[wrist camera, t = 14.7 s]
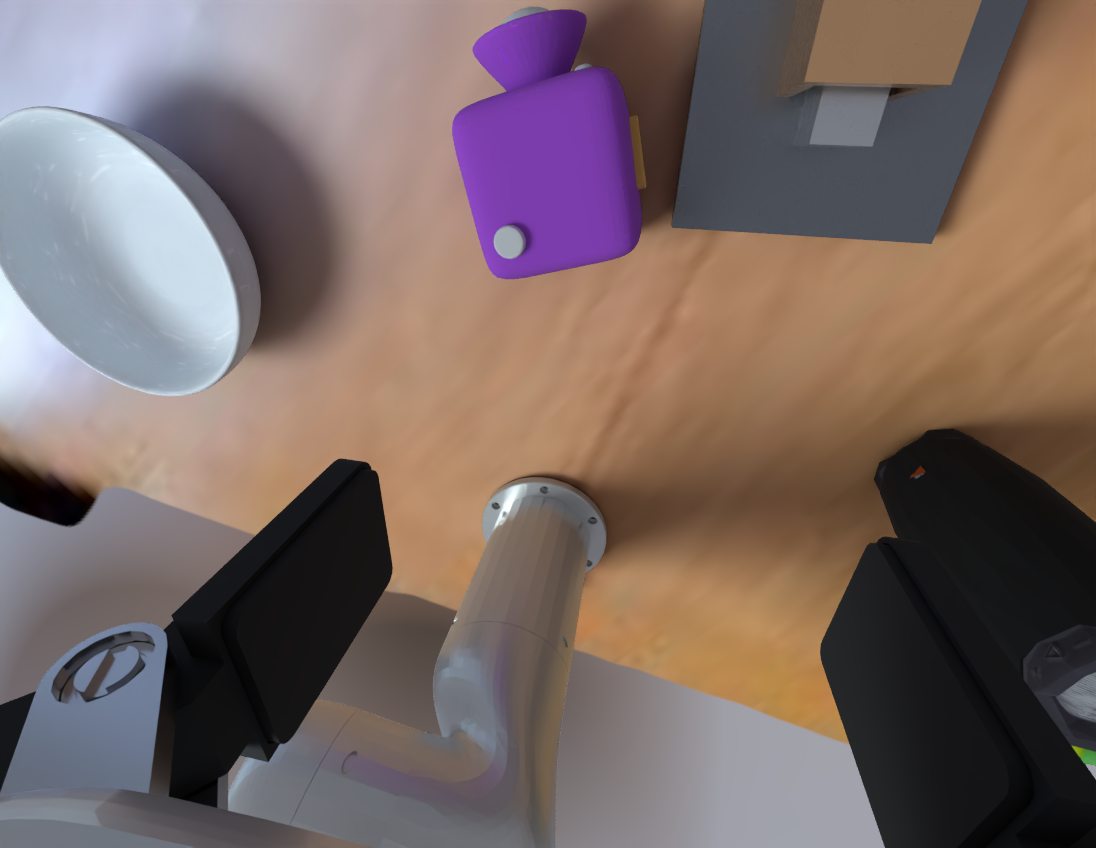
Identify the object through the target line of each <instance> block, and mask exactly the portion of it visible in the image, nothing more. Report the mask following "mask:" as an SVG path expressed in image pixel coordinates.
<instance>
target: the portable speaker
mask: <svg viewBox="0 0 1096 848" xmlns="http://www.w3.org/2000/svg"><path fill="white" fill-rule="evenodd" d="M874 480H875V482H876V485H877V487H878V489H879V491H880V494H881V497H882V499H883V502H884V505H885V507H886V510H887V513H888V515H889V518H890V521H891V523H892V526H893V528H894V531H895V534H896V535H897V537H898V538H899V539H906V540H913V541H920V542H922V543H924V544H925V545H926V546H927V547H928V548H929V549H930V550H931V552H932V553H933V554H934V556H935V557H936V559H937V560H938V561H939V563H940V564H941V566H942V567H943V568H944V570H945V571H946V572H947V574H948V575H949V577H950V578H951V579H952V581H953V582H954V584H955V585H956V586H957V588H958V589H959V591H960V592H961V593H962V595H963V596H964V597H965V599H966V600H967V602H968V603H969V604H970V606H971V607H972V609H973V610H974V611H975V613H976V614H977V616H978V617H979V618H980V620H981V621H982V622H983V624H984V625H985V627H986V628H987V629H988V631H989V632H990V634H991V635H992V636H993V638H994V639H995V640H996V642H997V643H998V645H999V646H1000V647H1001V649H1002V650H1003V652H1004V653H1005V654H1006V656H1007V657H1008V659H1009V660H1010V661H1011V663H1012V664H1013V665H1014V667H1015V668H1016V670H1017V671H1018V672H1019V674H1020V675H1021V677H1022V678H1023V679H1024V681H1025V682H1026V684H1027V685H1028V686H1029V688H1030V689H1031V690H1032V692H1033V693H1034V695H1035V696H1036V697H1037V699H1038V700H1039V702H1040V703H1041V704H1042V706H1043V707H1044V708H1045V710H1046V711H1047V713H1048V714H1049V715H1050V717H1051V718H1052V720H1053V721H1054V722H1055V724H1056V725H1057V727H1058V728H1059V729H1060V731H1061V732H1062V733H1063V735H1064V736H1065V738H1066V739H1067V740H1068V742H1069V743H1070V745H1072V746H1076V747H1079V748H1083V749H1087V750H1091V751H1095V752H1096V522H1094V521H1093V520H1092V519H1091V518H1089V517H1088V516H1087V515H1086V514H1085V513H1083V512H1082V511H1081V510H1080V509H1078V508H1077V507H1076V506H1075V505H1073V504H1072V503H1071V502H1070V501H1068V500H1067V499H1066V498H1065V497H1064V496H1062V495H1061V494H1060V493H1059V492H1057V491H1056V490H1055V489H1054V488H1052V487H1051V486H1050V485H1049V484H1047V483H1046V482H1045V481H1044V480H1043V479H1041V478H1039V477H1038V476H1036V475H1034V474H1033V473H1031V472H1029V471H1028V470H1026V469H1025V468H1023V467H1021V466H1020V465H1018V464H1016V463H1015V462H1013V461H1011V460H1010V459H1008V458H1006V457H1005V456H1003V455H1001V454H1000V453H998V452H996V451H995V450H993V449H991V448H990V447H988V446H985V445H983V444H981V443H980V442H978V441H977V440H975V439H974V438H972V437H970V436H968V435H966V434H963V433H961V432H958V431H956V430H954V429H948V430H934V431H927V432H926V433H925V434H924V436H923V437H922V438H921V439H919V440H917V441H915V442H914V443H912V444H910V445H908V446H906V447H904V448H903V449H901V450H900V451H899V452H897V453H896V454H895V455H894V456H892V457H891V458H890V459H889V460H887V461H884V462H880V463H879V466H878V469H877V472H876V475H875V478H874Z"/></svg>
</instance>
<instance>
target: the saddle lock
mask: <svg viewBox="0 0 1096 848" xmlns="http://www.w3.org/2000/svg"><path fill="white" fill-rule="evenodd" d="M981 1H982V0H798V1H797V5H796V10H795V14H794V19H793V23H792V28H791V32H790V37H789V41H788V46H787V50H786V55H785V59H784V64H783V69H782V73H781V78H780V82H779V87H778V91H777V96H776V97H792V96H794V95H796V94H798V93H800V92H802V91H804V90H807V89H809V88H811V87H813V86H852V87H891V89H890V92H889V95H888V99H894V100H895V99H898V98H902V97H906V96H910V95H914V94H918V93H922V92H926V91H929V90H933V89H937V88H941V87H945V86H949V85H951V84H952V81H953V78H954V75H955V73H956V70H957V67H958V64H959V62H960V59H961V56H962V53H963V51H964V48H965V45H966V42H967V39H968V37H969V34H970V31H971V28H972V26H973V23H974V20H975V17H976V15H977V12H978V9H979V6H980V4H981Z"/></svg>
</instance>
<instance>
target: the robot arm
mask: <svg viewBox="0 0 1096 848" xmlns="http://www.w3.org/2000/svg"><path fill="white" fill-rule="evenodd" d="M482 531H483V535H484V538H485V540H486V542H487V545H486V547H485V549H484V552H483V554H482V556H481V559H480V561H479V563H478V566H477V568H476V570H475V572H474V575H473V577H472V579H471V582H470V584H469V586H468V589H467V591H466V593H465V596H464V598H463V600H462V603H461V605H460V607H459V610H458V612H457V614H456V616H455V619H454V621H453V623H452V626H451V628H450V630H449V633H448V636H447V638H446V640H445V642H444V644H443V647H442V649H441V651H440V654H439V656H438V659H437V662H436V667H435V672H434V679H433V695H434V704H435V709H436V714H437V718H438V722H439V726H440V730H441V734H442V736H439V735H435V734H432V733H428V732H427V733H424V732H422V731H419V730H416V729H413V728H411V727H408V726H405V725H402V724H399V723H397V722H394V721H391V720H388V719H386V718H383V717H380V716H377V715H374V714H372V713H369V712H366V711H363V710H360V709H357V708H354V707H351V706H348V705H344V704H341V703H337V702H333V701H328V700H316V699H317V698H318V696H319V695H320V693H321V691H322V690H323V688H324V686H325V685H326V683H327V682H328V680H329V678H330V677H331V675H332V674H333V672H334V670H335V669H336V667H337V666H338V664H339V662H340V661H341V659H342V657H343V656H344V654H345V653H346V651H347V650H348V648H349V646H350V645H351V643H352V642H353V640H354V638H355V637H356V635H357V633H358V632H359V630H360V629H361V627H362V625H363V624H364V622H365V621H366V619H367V617H368V616H369V614H370V613H371V611H372V609H373V608H374V606H375V605H376V603H377V601H378V600H379V598H380V597H381V595H382V593H383V592H384V590H385V589H386V587H387V585H388V583H389V581H390V579H391V575H392V560H391V554H390V547H389V541H388V535H387V528H386V522H385V516H384V509H383V503H382V497H381V490H380V484H379V478H378V474H377V472H376V471H374V470H371V466H370V465H369V464H368V463H366V462H361V461H354V460H348V459H337V460H336V461H334V462H333V463H332V464H331V465H330V466H329V467H328V468H327V469H326V470H325V471H324V472H323V473H322V474H321V475H320V476H318V477H317V478H316V479H315V480H314V481H313V482H312V483H311V484H310V485H309V486H308V487H307V488H306V489H305V490H304V491H303V492H302V493H300V494H299V495H298V496H297V497H296V498H295V499H294V500H293V501H292V502H291V503H290V504H289V505H288V506H287V507H286V508H285V509H284V510H282V511H281V512H280V513H279V514H278V515H277V516H276V517H275V518H274V519H273V520H272V521H271V522H270V523H269V524H268V525H267V526H266V527H265V528H263V529H262V530H261V531H260V532H259V533H258V534H257V535H256V536H255V537H254V538H253V539H252V540H251V541H250V542H249V543H248V544H247V545H246V546H244V547H243V548H242V549H241V550H240V551H239V552H238V553H237V554H236V555H235V556H234V557H233V558H232V559H231V560H230V561H229V562H228V563H226V564H225V565H224V566H223V567H222V568H221V569H220V570H219V571H218V572H217V573H216V574H215V575H214V576H213V577H212V578H211V579H209V581H207V582H206V583H205V584H204V585H203V586H202V587H201V588H200V589H199V590H198V591H197V592H196V593H195V594H194V595H193V596H191V597H190V598H189V599H188V600H187V601H186V602H185V603H184V604H183V605H182V606H181V607H180V608H179V609H178V610H177V611H176V612H175V613H174V614H172V618H173V620H174V621H173V622H171V624H170V625H168V626H167V627H166V628H165V629H164V630H162V629H161V628H160V627H159V626H156V625H153V624H150V623H130V624H126V625H121V626H117V627H113V628H111V629H108V630H106V631H103V632H101V633H98V634H96V635H94V636H92V637H90V638H89V639H87V640H85V641H83V642H81V643H80V644H78V645H76V646H75V647H74V648H72V649H71V650H70V651H68V652H67V653H66V654H65V655H63V656H62V657H61V658H59V659H58V660H57V662H56V663H55V664H54V665H53V666H52V667H51V668H50V669H49V670H48V671H47V672H46V674H45V675H44V677H43V679H42V681H41V682H40V684H39V686H38V688H37V690H36V691H35V692H33V693H30V694H28V695H25V696H22V697H20V698H17V699H15V700H12V701H9V702H7V703H4V704H2V705H0V848H555V830H556V826H555V825H556V823H555V822H556V778H557V760H558V750H559V741H560V732H561V725H562V717H563V710H564V703H565V697H566V691H567V684H568V678H569V672H570V665H571V659H572V653H573V647H574V641H575V634H576V628H577V622H578V616H579V609H580V603H581V597H582V591H583V584H584V578H585V574H586V573H587V572H588V571H590V570H591V569H593V568H594V567H595V566H596V564H597V563H598V562H599V561H600V559H601V557H602V556H603V554H604V551H605V547H606V540H607V530H606V524H605V521H604V518H603V515H602V514H601V512H600V510H599V509H598V507H597V506H596V504H595V503H594V502H593V501H592V500H591V499H590V498H589V497H588V496H587V495H585V494H584V493H583V492H581V491H580V490H579V489H577V488H575V487H573V486H571V485H569V484H567V483H564V482H561V481H558V480H555V479H550V478H544V477H529V478H522V479H518V480H515V481H512V482H509V483H507V484H506V485H504V486H502V487H501V488H499V489H498V490H497V491H496V492H495V493H494V494H493V495H492V497H491V498H490V500H489V501H488V503H487V505H486V507H485V510H484V512H483V517H482ZM820 654H821V661H822V665H823V667H824V670H825V673H826V676H827V679H828V682H829V685H830V688H831V691H832V694H833V697H834V700H835V703H836V705H837V708H838V711H839V714H840V717H841V720H842V723H843V726H844V729H845V732H846V735H847V738H848V741H849V744H850V746H851V749H852V752H853V755H854V758H855V761H856V764H857V767H858V770H859V773H860V776H861V779H862V782H863V785H864V787H865V790H866V793H867V796H868V798H869V802H870V805H871V808H872V811H873V814H874V817H875V820H876V822H877V825H878V828H879V831H880V834H881V837H882V840H883V843H884V846H885V848H1096V780H1095V778H1094V776H1093V775H1092V774H1091V772H1090V771H1089V770H1088V768H1087V767H1086V765H1085V764H1084V763H1083V761H1082V760H1081V758H1080V757H1079V756H1078V754H1077V753H1076V751H1075V750H1074V749H1073V747H1072V746H1071V745H1070V743H1069V742H1068V740H1067V739H1066V738H1065V736H1064V735H1063V733H1062V732H1061V731H1060V729H1059V728H1058V727H1057V725H1056V724H1055V722H1054V721H1053V720H1052V718H1051V717H1050V715H1049V714H1048V713H1047V711H1046V710H1045V708H1044V707H1043V706H1042V704H1041V703H1040V702H1039V700H1038V699H1037V697H1036V696H1035V695H1034V693H1033V692H1032V690H1031V689H1030V688H1029V686H1028V685H1027V684H1026V682H1025V681H1024V679H1023V678H1022V677H1021V675H1020V674H1019V672H1018V671H1017V670H1016V668H1015V667H1014V665H1013V664H1012V663H1011V661H1010V660H1009V659H1008V657H1007V656H1006V654H1005V653H1004V652H1003V650H1002V649H1001V647H1000V646H999V645H998V643H997V642H996V640H995V639H994V638H993V636H992V635H991V634H990V632H989V631H988V629H987V628H986V627H985V625H984V624H983V622H982V621H981V620H980V618H979V617H978V616H977V614H976V613H975V611H974V610H973V609H972V607H971V606H970V604H969V603H968V602H967V600H966V599H965V597H964V596H963V595H962V593H961V592H960V591H959V589H958V588H957V586H956V585H955V584H954V582H953V581H952V579H951V578H950V577H949V575H948V574H947V572H946V571H945V570H944V568H943V567H942V566H941V564H940V563H939V561H938V560H937V559H936V557H935V556H934V554H933V553H932V552H931V550H930V549H929V548H928V547H927V546H926V545H925V544H924V543H922V542H920V541H913V540H906V539H899V538H892V537H882V538H881V539H879V540H878V542H877V543H870V544H869V545H867V547H866V549H865V551H864V553H863V555H862V557H861V559H860V561H859V563H858V565H857V568H856V570H855V572H854V574H853V576H852V578H851V580H850V583H849V585H848V587H847V589H846V591H845V593H844V595H843V597H842V600H841V602H840V604H839V606H838V608H837V610H836V612H835V614H834V617H833V619H832V621H831V623H830V625H829V627H828V629H827V631H826V634H825V636H824V638H823V640H822V643H821V649H820ZM240 755H241V756H244V757H247V758H246V760H245V761H244V763H243V765H242V767H241V768H240V770H239V772H238V774H237V776H236V777H235V779H234V781H233V783H232V785H231V787H230V789H229V791H228V772H229V770H230V769H231V768H232V766H233V765H234V763H235V762H236V760H237V759H238V758H239V756H240Z"/></svg>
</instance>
